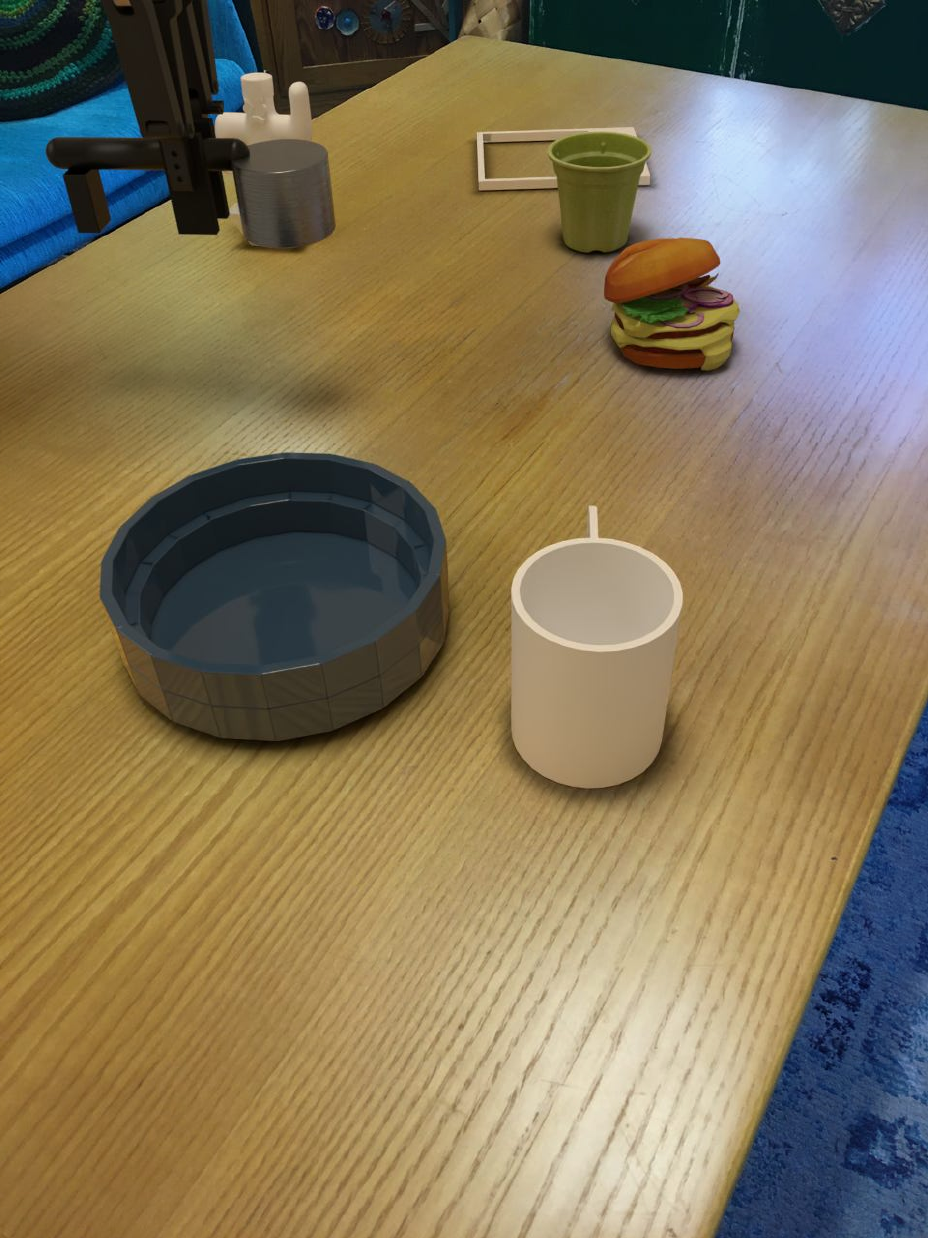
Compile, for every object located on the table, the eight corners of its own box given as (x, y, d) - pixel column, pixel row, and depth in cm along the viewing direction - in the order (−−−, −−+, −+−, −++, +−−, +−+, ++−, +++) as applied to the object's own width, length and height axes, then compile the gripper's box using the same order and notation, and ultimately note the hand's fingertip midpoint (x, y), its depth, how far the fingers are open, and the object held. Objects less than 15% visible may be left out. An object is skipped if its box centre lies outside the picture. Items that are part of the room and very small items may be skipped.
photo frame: (650, 173, 111) (478, 179, 111) (649, 184, 112) (478, 190, 112) (633, 124, 122) (476, 130, 122) (633, 135, 122) (476, 140, 123)
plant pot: (525, 242, 103) (526, 150, 97) (589, 212, 107) (593, 122, 102) (599, 271, 98) (605, 176, 92) (663, 239, 102) (672, 146, 97)
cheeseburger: (680, 395, 82) (668, 265, 76) (584, 373, 90) (567, 254, 84) (765, 348, 86) (759, 223, 81) (667, 331, 94) (655, 216, 89)
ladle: (343, 212, 76) (334, 123, 72) (325, 249, 71) (314, 156, 67) (84, 208, 77) (61, 121, 73) (50, 244, 73) (23, 154, 69)
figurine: (248, 219, 109) (220, 60, 99) (336, 224, 107) (317, 63, 97) (221, 249, 104) (189, 85, 93) (313, 256, 102) (291, 89, 92)
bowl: (78, 740, 59) (46, 663, 54) (180, 521, 72) (160, 447, 68) (428, 759, 57) (421, 683, 53) (463, 531, 71) (460, 457, 67)
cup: (652, 629, 63) (670, 493, 57) (667, 791, 55) (690, 653, 48) (515, 626, 64) (515, 491, 57) (508, 786, 55) (508, 649, 48)
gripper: (141, -182, 52) (228, 273, 68) (223, -219, 63) (281, 182, 79) (-4, -179, 53) (116, 271, 69) (101, -216, 64) (184, 181, 80)
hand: (204, 223), depth 74 cm, fingers closed on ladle, 2 cm apart
